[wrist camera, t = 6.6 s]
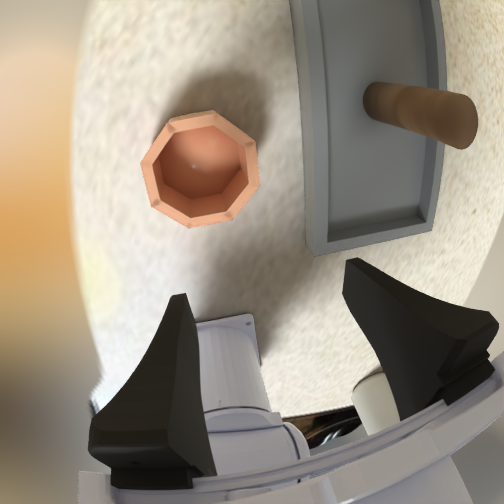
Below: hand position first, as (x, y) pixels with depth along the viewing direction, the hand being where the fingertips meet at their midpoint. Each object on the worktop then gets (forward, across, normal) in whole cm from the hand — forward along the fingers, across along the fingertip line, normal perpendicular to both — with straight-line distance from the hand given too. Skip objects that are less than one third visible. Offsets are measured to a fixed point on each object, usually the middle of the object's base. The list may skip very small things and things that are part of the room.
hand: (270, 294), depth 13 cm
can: (+10, -17, +33) cm, 38 cm away
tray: (+9, -11, -7) cm, 16 cm away
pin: (+9, -11, -7) cm, 16 cm away
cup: (+9, +2, -4) cm, 10 cm away
